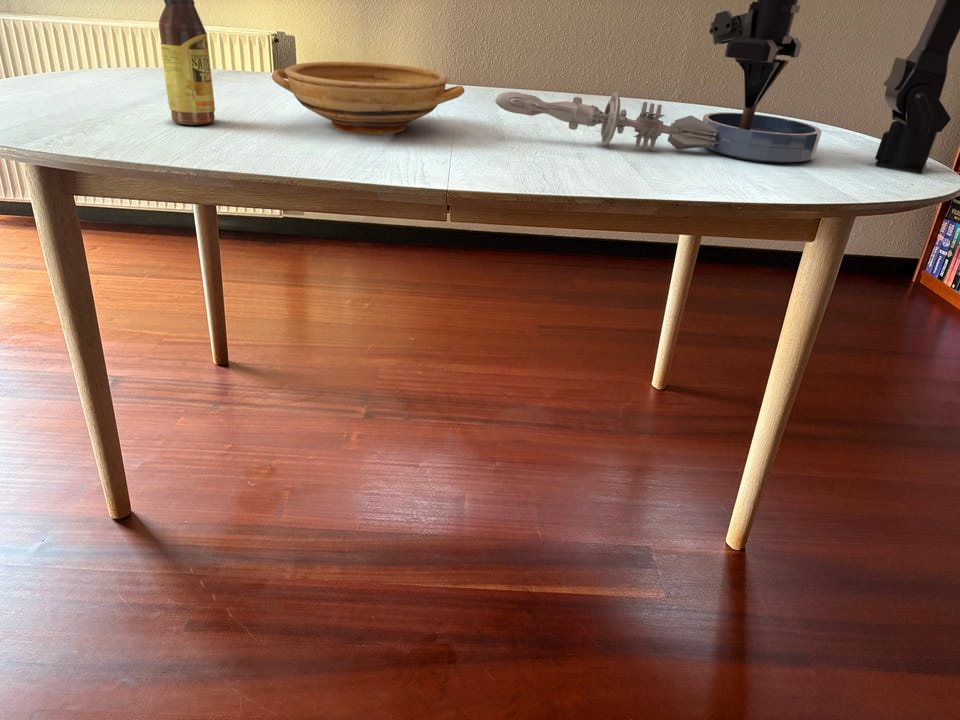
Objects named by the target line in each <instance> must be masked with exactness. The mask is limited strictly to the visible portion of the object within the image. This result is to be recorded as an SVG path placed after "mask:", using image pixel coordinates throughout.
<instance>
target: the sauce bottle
mask: <svg viewBox="0 0 960 720" xmlns="http://www.w3.org/2000/svg"><path fill="white" fill-rule="evenodd" d="M163 2H164V4H165V5H164V8H163V10H162V12H161V14H160V17H159V20H158V30H159V37H160V50H161V51H160V52H161V59H162V60H161V61H162V66H163V73H164V74H163V75H164V81H165V88H166V95H167V103H168V108H169V110H170V115H171V120H172V122H174V123H175V124H179V125H187V126H197V125H199V126H201V125H208V124H212V123H214V121H215V112H216V106H215V97H214V96H215V95H214V88H213V79H212V69H211V60H210V59H211V58H210V51H209V42H208V33H207V32H206V28H205V26H204V25H203V22H202V20H201V18H200V16H199V15H200V14H199V13H198V10H197V8H196V6H195V0H163Z"/></svg>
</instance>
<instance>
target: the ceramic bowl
mask: <svg viewBox="0 0 960 720" xmlns="http://www.w3.org/2000/svg"><path fill="white" fill-rule="evenodd" d="M271 79H272V81H273V82H274V83H275V84H277V85H278V86H280V87H282V88H283V89H285V90H287V91H288V92H290V93H291V94H293V96H294V97H295V99H296V100H297V102H298V103H300V104H301V105H302V106H303V107H304V108H306V109H307V110H309V111H311V112H313V113H315V114H316V115H318V116H321V117H323V118H324V119H326V120H328V121H331V127H332V128H334V130H335V129H336V130H338V131H341V132H345V133H351V134H357V135H359V134H360V135H390V134H396V133H401V132H403V131H404V130H405V129H406V124H409V123H411V122H413V121H415V120H418V119H419V118H422V117H424V116H427V115H428V114H431V113H432V112H433V111H434V110H435V109H436V108H437V107H438V105H441V104H445V103H446V102H449V101H452V100H456V99H457V98H460V97H461V96H462V95H463V94H464V93H465V87H464V86H463V85H456V86H452V87H448V88H446V85H447V84H448V81H449V78H448V76H447V75H445V74H444V73H442V72H439V71H437V70H432V69H429V68H422V67H417V66H411V65H403V64H393V63H382V62H367V61H312V62H302V63H296V64H292V65H290V66H287V67H285V69H276V70H274V71H272V73H271Z"/></svg>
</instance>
